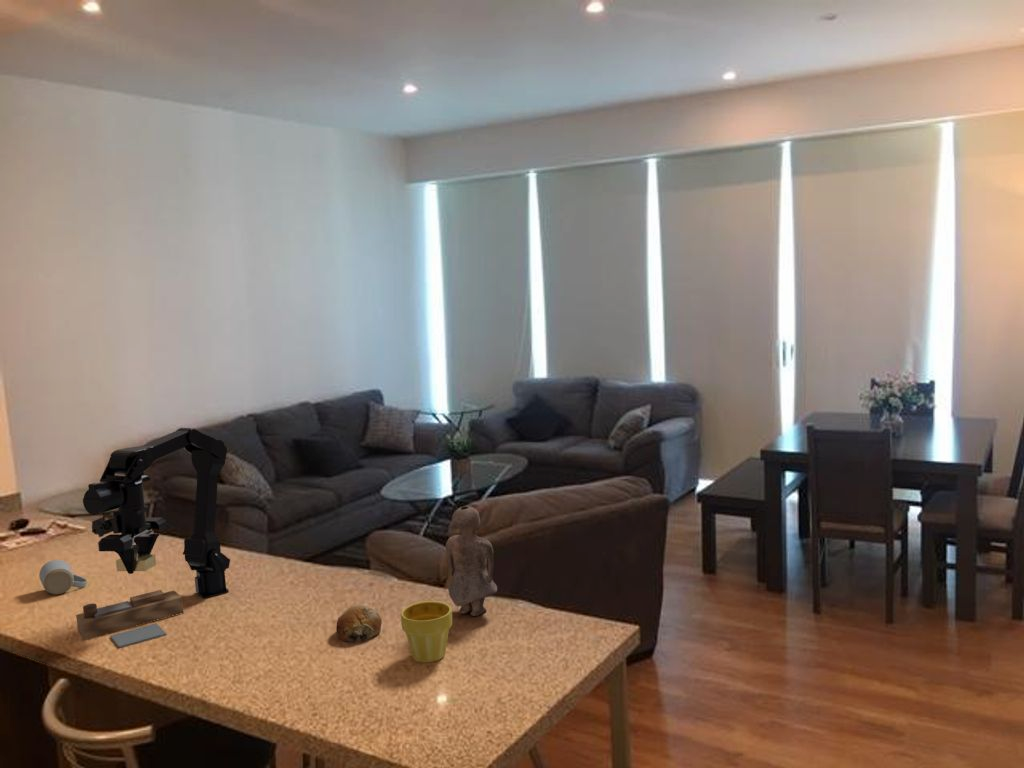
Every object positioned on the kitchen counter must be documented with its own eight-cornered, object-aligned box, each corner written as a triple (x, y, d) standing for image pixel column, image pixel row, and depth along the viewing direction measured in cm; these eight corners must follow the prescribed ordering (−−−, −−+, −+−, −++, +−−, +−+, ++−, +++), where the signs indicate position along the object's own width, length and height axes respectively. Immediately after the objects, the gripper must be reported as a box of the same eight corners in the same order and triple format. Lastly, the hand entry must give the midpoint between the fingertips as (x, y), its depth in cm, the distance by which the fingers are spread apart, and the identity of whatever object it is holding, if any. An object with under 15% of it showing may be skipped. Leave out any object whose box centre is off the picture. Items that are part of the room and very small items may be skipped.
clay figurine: (507, 608, 199) (502, 504, 196) (485, 624, 191) (479, 515, 188) (460, 601, 206) (454, 499, 203) (437, 616, 197) (430, 510, 194)
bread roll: (387, 645, 191) (392, 608, 194) (365, 643, 182) (371, 605, 185) (348, 641, 195) (353, 604, 197) (325, 639, 186) (330, 601, 188)
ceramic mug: (44, 599, 221) (42, 570, 221) (40, 590, 228) (37, 562, 227) (89, 589, 228) (87, 561, 227) (84, 581, 234) (81, 554, 233)
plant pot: (434, 671, 169) (431, 623, 168) (393, 661, 175) (390, 615, 174) (464, 650, 178) (461, 605, 177) (424, 641, 183) (421, 597, 182)
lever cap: (156, 564, 200) (155, 551, 200) (145, 571, 196) (144, 558, 195) (128, 564, 201) (127, 551, 201) (116, 571, 197) (115, 558, 196)
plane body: (175, 605, 212) (173, 580, 211) (183, 613, 207) (180, 587, 206) (78, 631, 199) (74, 604, 198) (83, 639, 193) (80, 612, 193)
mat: (156, 624, 200) (156, 623, 200) (166, 634, 194) (166, 633, 194) (110, 637, 194) (110, 635, 194) (119, 648, 188) (119, 646, 188)
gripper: (122, 494, 207) (128, 557, 209) (72, 514, 189) (79, 583, 190) (165, 494, 205) (170, 557, 207) (119, 514, 187) (126, 583, 189)
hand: (137, 570), depth 198 cm, fingers closed on lever cap, 5 cm apart
